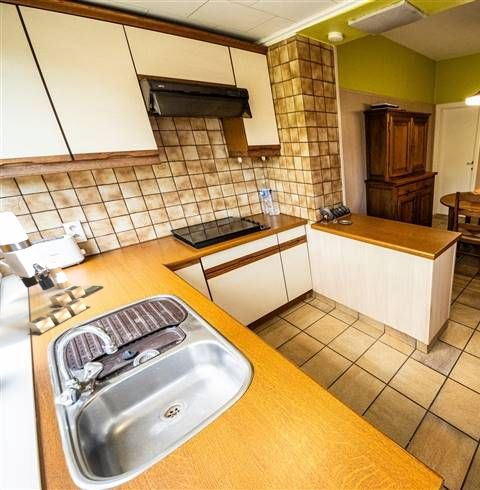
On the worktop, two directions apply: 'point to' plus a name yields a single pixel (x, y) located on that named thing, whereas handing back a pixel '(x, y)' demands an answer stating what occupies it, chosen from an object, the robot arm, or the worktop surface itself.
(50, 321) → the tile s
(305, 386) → the worktop surface
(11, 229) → the robot arm
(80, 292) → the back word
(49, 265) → the sprinkles bottle
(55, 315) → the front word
